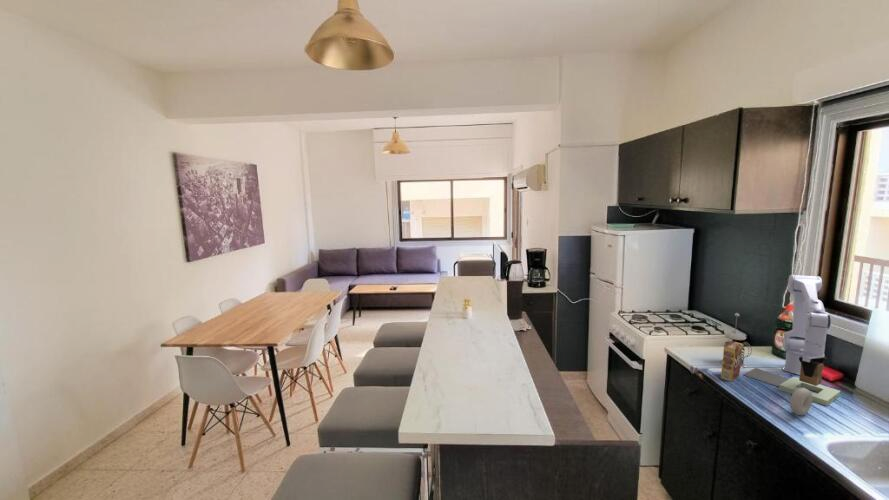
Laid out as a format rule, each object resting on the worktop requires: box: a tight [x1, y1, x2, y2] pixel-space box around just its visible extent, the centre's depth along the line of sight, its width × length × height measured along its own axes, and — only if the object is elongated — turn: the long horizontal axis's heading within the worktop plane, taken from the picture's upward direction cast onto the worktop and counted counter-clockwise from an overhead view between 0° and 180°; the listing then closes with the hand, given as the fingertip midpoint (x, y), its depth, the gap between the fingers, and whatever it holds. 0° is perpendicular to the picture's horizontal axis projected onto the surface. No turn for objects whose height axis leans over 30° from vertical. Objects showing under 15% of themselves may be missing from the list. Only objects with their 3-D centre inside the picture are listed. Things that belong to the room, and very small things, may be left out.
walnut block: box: [799, 363, 824, 386], centre depth 144 cm, size 5×5×8 cm
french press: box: [719, 312, 753, 369], centre depth 169 cm, size 10×12×25 cm
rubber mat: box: [743, 367, 790, 388], centre depth 157 cm, size 12×12×1 cm
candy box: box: [720, 341, 744, 382], centre depth 157 cm, size 9×4×15 cm, turn 123°
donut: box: [789, 387, 813, 416], centre depth 130 cm, size 10×4×10 cm, turn 114°
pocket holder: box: [778, 375, 841, 406], centre depth 145 cm, size 14×14×2 cm
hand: (810, 374), depth 144 cm, fingers closed on walnut block, 5 cm apart
